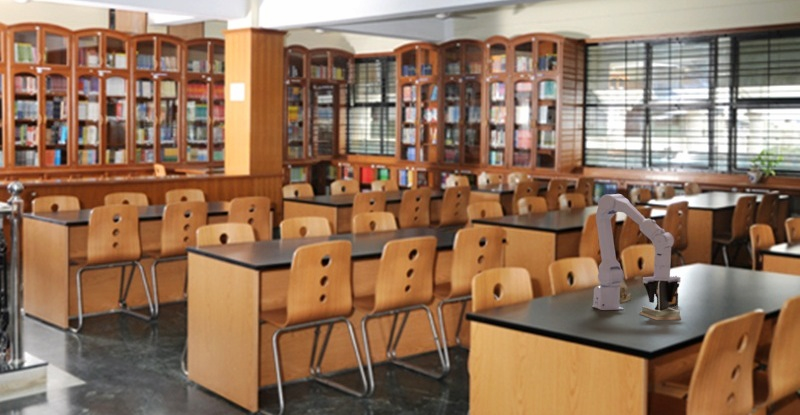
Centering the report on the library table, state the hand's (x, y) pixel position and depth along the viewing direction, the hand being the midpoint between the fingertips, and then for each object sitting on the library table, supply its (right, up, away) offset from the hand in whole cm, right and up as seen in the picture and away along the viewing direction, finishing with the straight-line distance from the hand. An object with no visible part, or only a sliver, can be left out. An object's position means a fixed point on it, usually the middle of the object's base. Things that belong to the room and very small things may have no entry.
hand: (660, 302), depth 339 cm
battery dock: (0, -5, 0) cm, 6 cm away
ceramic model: (-9, -3, +34) cm, 36 cm away
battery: (0, -3, +1) cm, 3 cm away
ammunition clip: (+10, -4, +22) cm, 24 cm away
